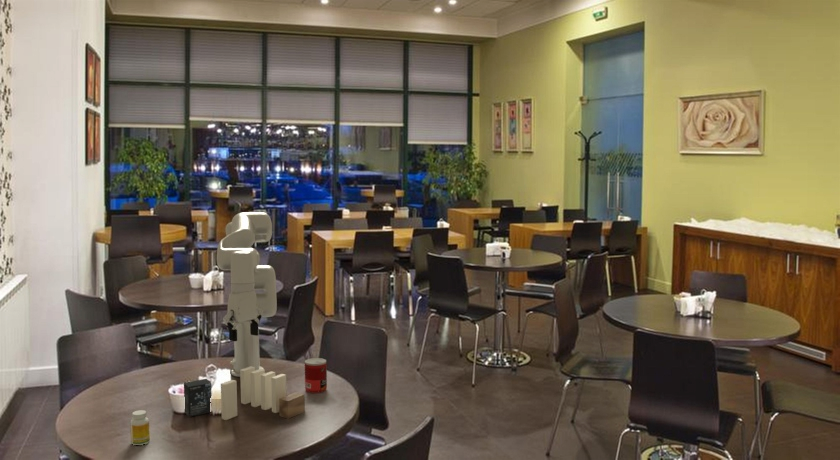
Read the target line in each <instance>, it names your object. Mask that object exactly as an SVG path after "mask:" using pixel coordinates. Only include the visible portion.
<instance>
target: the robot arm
mask: <svg viewBox="0 0 840 460" xmlns="http://www.w3.org/2000/svg"><path fill="white" fill-rule="evenodd" d="M272 234H273V223H272V219H271V217H270V215H269V214H268V213H267V212H262V211H259V212H258V211H256V212H239V213H237V214H235V215H234V216H233V217H232V219H231V221H230V222H228V223H227V224H226V225H225V235H226V236H225V237H223V238H222V239H220V241H219V243H218V245H217V248H216V249H217V250H216V264H217V266H218V268H219V269H220V270H221V271H230V291H231V292H229V295H228V300H227V313H226V314H225V315H224V316H222V320H223V322H224V325H225V326H226V329H227V330H228V340H229V341H232V342H233V345H234V347H233V348H234V358H233V359H232V360H231V361H229V365H230V366H232V367H233V368H232V369H231V371H230V374H231V376H233V377H237V378H240V370H241V369H244V368H247V367H250V366H252V367H255V371H256V370H259V369H264V367H262V366H260V365H261V363H260V362H261V361H260V331H259V324H260V320H261V319H262V318H270V317H274V316H275V315H276V314H277V308H278V306H277V305H278V303H277V302H278V301H277V278H276V271H275V269H274V267H273V266H272V265H270V264H269V265H267V264H264V265H263V264H261V265H260V260H261V258H260V253H259V252H258V250H257V249H256V248H253V247H252V246H253V245H254V244H255V243H267V242H269V241H270V240H271V238H272ZM256 290H257V291H258V290H260V291H261V290H262V291H264V292H256ZM264 370H265V369H264Z"/></svg>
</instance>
